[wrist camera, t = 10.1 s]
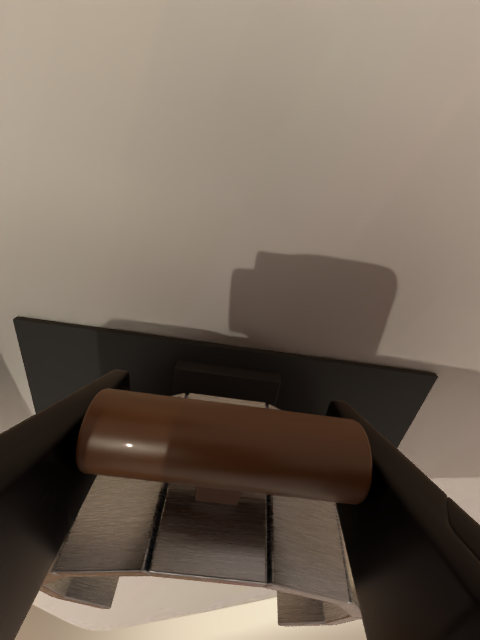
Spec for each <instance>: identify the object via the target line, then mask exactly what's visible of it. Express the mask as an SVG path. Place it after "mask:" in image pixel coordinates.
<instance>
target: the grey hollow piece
mask: <svg viewBox="0 0 480 640" xmlns="http://www.w3.org/2000/svg"><path fill="white" fill-rule="evenodd" d="M76 463H77V467H78V469H79V470H80V471H81V472H83V473H85V474H93V475H97V477H96V479H95V481H94V483H93V485H92V487H91V489H90V491H89V493H88V495H87V497H86V499H85V500H84V502H83V504H82V506H81V508H80V510H79V512H78V514H77V516H76V518H75V520H74V522H73V524H72V526H71V528H70V530H69V532H68V534H67V536H66V538H65V540H64V542H63V544H62V546H61V548H60V550H59V552H58V554H57V556H56V558H55V560H54V562H53V564H52V566H51V568H50V570H49V572H48V574H47V576H46V578H45V580H44V582H43V584H42V586H41V588H40V591H42V592H44V593H46V594H48V595H50V596H51V597H55V598H58V599H62V600H66V601H71V602H75V603H79V604H84V605H88V606H92V607H97V608H101V609H110V608H111V604H112V601H113V597H114V594H115V590H116V587H117V583H118V579H119V576H155V577H165V578H175V579H185V580H194V581H204V582H214V583H224V584H234V585H243V586H253V587H263V588H267V589H272V590H276V591H277V605H278V625H280V626H318V625H337V624H342V623H346V622H350V621H354V620H358V619H362V616H361V611H360V607H359V603H358V599H357V594H356V590H355V586H354V581H353V577H352V573H351V568H350V564H349V560H348V555H347V551H346V547H345V542H344V538H343V534H342V529H341V525H340V521H339V516H338V512H337V508H336V503H345V504H354V505H356V504H359V503H361V502H363V501H364V500H365V498H366V497H367V495H368V493H369V490H370V486H371V481H372V454H371V448H370V444H369V440H368V437H367V435H366V432H365V430H364V429H363V427H362V426H361V425H360V423H358V422H357V421H355V420H353V419H346V418H338V417H330V416H323V415H315V414H307V413H299V412H291V411H283V410H281V409H279V408H277V407H275V406H273V405H271V404H268V405H267V406H266V404H265V402H257V401H250V400H242V399H234V398H226V397H218V396H211V395H203V394H195V393H189V395H188V396H187V395H186V394H185V393H182V394H177V395H172V396H165V395H158V394H150V393H142V392H134V391H126V390H118V389H110V388H107V389H103V390H101V391H100V392H99V393H98V394H97V395H96V396H95V397H94V399H93V400H92V402H91V403H90V405H89V407H88V409H87V411H86V414H85V416H84V419H83V421H82V424H81V428H80V431H79V435H78V440H77V447H76ZM335 502H336V503H335Z"/></svg>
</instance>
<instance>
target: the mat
mask: <svg viewBox="0 0 480 640" xmlns="http://www.w3.org/2000/svg"><path fill="white" fill-rule="evenodd" d="M13 322H14V326H15V330H16V334H17V338H18V342H19V346H20V350H21V354H22V358H23V363H24V367H25V371H26V375H27V379H28V383H29V387H30V391H31V395H32V399H33V404H34V408H35V412H36V414H37V413H38V412H40V411H42V410H44V409H46V408H47V407H49V406H51V405H53V404H54V403H56V402H58V401H60V400H61V399H63V398H65V397H67V396H68V395H70V394H72V393H74V392H75V391H77V390H79V389H81V388H82V387H84V386H86V385H88V384H90V383H91V382H93V381H95V380H97V379H98V378H100V377H102V376H104V375H105V374H107V373H109V372H111V371H112V370H115V369H117V370H124V371H128V372H129V375H130V391H134V392H142V393H150V394H158V395H165V396H172V395H177V394H182V393H185V394H186V395H187V396H188V395H189V393H195V394H203V395H211V396H218V397H226V398H234V399H242V400H250V401H257V402H265V404H266V406H267V405H268V404H271V405H273V406H275V407H277V408H279V409H281V410H283V411H291V412H299V413H307V414H315V415H323V416H325V415H326V412H327V409H328V407H329V404H330V402H331V401H332V400H342V401H346V402H347V403H348V404H349V405H350V406H352V407H353V408H354V409H355V410H356V411H357V412H358V413H359V414H360V415H361V416H362V417H363V418H364V419H366V420H367V421H368V422H369V423H370V424H371V425H372V426H373V427H374V428H375V429H376V430H377V431H378V432H380V433H381V434H382V435H383V436H384V437H385V438H386V439H387V440H388V441H389V442H390V443H391V444H392V445H394V446H395V447H396V448H397V447H398V446H399V444H400V442H401V440H402V439H403V437H404V435H405V433H406V432H407V430H408V428H409V427H410V425H411V423H412V421H413V420H414V418H415V416H416V414H417V413H418V411H419V409H420V407H421V406H422V404H423V402H424V400H425V399H426V397H427V395H428V393H429V392H430V390H431V388H432V386H433V385H434V383H435V381H436V379H437V378H438V376H437V375H436V374H435V373H429V372H422V371H415V370H407V369H400V368H392V367H385V366H378V365H370V364H363V363H356V362H348V361H341V360H333V359H326V358H319V357H311V356H304V355H296V354H289V353H282V352H274V351H267V350H260V349H252V348H245V347H237V346H230V345H223V344H215V343H208V342H201V341H193V340H186V339H178V338H171V337H164V336H156V335H149V334H142V333H134V332H127V331H119V330H112V329H105V328H97V327H90V326H82V325H75V324H68V323H60V322H53V321H46V320H38V319H31V318H23V317H16V318H14V319H13Z"/></svg>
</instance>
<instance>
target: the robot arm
mask: <svg viewBox="0 0 480 640" xmlns="http://www.w3.org/2000/svg"><path fill="white" fill-rule="evenodd" d="M107 388H110V389H118V390H126V391H130V375H129V372H128V371H124V370H117V369H115V370H112V371H111V372H109V373H107V374H105V375H104V376H102V377H100V378H98V379H97V380H95V381H93V382H91V383H90V384H88V385H86V386H84V387H82V388H81V389H79V390H77V391H75V392H74V393H72V394H70V395H68V396H67V397H65V398H63V399H61V400H60V401H58V402H56V403H54V404H53V405H51V406H49V407H47V408H46V409H44V410H42V411H40V412H38V413H37V414H35V415H33V416H31V417H30V418H28V419H26V420H24V421H23V422H21V423H19V424H17V425H16V426H14V427H12V428H10V429H9V430H7V431H5V432H3V433H2V434H0V640H14V639H15V637H16V635H17V633H18V631H19V629H20V627H21V625H22V623H23V621H24V619H25V617H26V615H27V613H28V611H29V609H30V607H31V605H32V603H33V601H34V599H35V598H36V596H37V594H38V592H39V590H40V588H41V586H42V584H43V582H44V580H45V578H46V576H47V574H48V572H49V570H50V568H51V566H52V564H53V562H54V560H55V558H56V556H57V554H58V552H59V550H60V548H61V546H62V544H63V542H64V540H65V538H66V536H67V534H68V532H69V530H70V528H71V526H72V524H73V522H74V520H75V518H76V516H77V514H78V512H79V510H80V508H81V506H82V504H83V502H84V500H85V499H86V497H87V495H88V493H89V491H90V489H91V487H92V485H93V483H94V481H95V479H96V477H97V475H93V474H85V473H83V472H81V471H80V470H79V469H78V467H77V463H76V447H77V440H78V435H79V431H80V428H81V424H82V421H83V419H84V416H85V414H86V411H87V409H88V407H89V405H90V403H91V402H92V400H93V399H94V397H95V396H96V395H97V394H98V393H99V392H100V391H101V390H103V389H107ZM325 416H330V417H338V418H346V419H353V420H355V421H357V422H358V423H360V425H361V426H362V427H363V429H364V430H365V432H366V435H367V437H368V440H369V444H370V448H371V454H372V481H371V486H370V490H369V493H368V495H367V497H366V498H365V500H364V501H363V502H361V503H359V504H356V505H354V504H345V503H336V502H335V503H336V508H337V512H338V516H339V521H340V525H341V529H342V534H343V538H344V542H345V547H346V551H347V555H348V560H349V564H350V568H351V573H352V577H353V581H354V586H355V590H356V594H357V599H358V603H359V607H360V611H361V616H362V620H363V624H364V628H365V633H366V637H367V640H480V525H479V524H478V523H477V522H476V521H475V520H474V519H473V518H471V517H470V516H469V515H468V514H467V513H466V512H465V511H464V510H463V509H462V508H460V507H459V506H458V505H457V504H456V503H455V502H454V501H453V500H452V499H451V498H449V497H447V495H446V494H445V493H444V492H443V491H442V490H441V489H440V488H439V487H438V486H437V485H436V484H434V483H433V482H432V481H431V480H430V479H429V478H428V477H427V476H426V475H425V474H424V473H423V472H422V471H420V470H419V469H418V468H417V467H416V466H415V465H414V464H413V463H412V462H411V461H410V460H409V459H408V458H406V457H405V456H404V455H403V454H402V453H401V452H400V451H399V450H398V449H397V448H396V447H395V446H394V445H392V444H391V443H390V442H389V441H388V440H387V439H386V438H385V437H384V436H383V435H382V434H381V433H380V432H378V431H377V430H376V429H375V428H374V427H373V426H372V425H371V424H370V423H369V422H368V421H367V420H366V419H364V418H363V417H362V416H361V415H360V414H359V413H358V412H357V411H356V410H355V409H354V408H353V407H352V406H350V405H349V404H348V403H347V402H346V401H342V400H332V401H331V402H330V404H329V407H328V409H327V412H326V415H325Z"/></svg>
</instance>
